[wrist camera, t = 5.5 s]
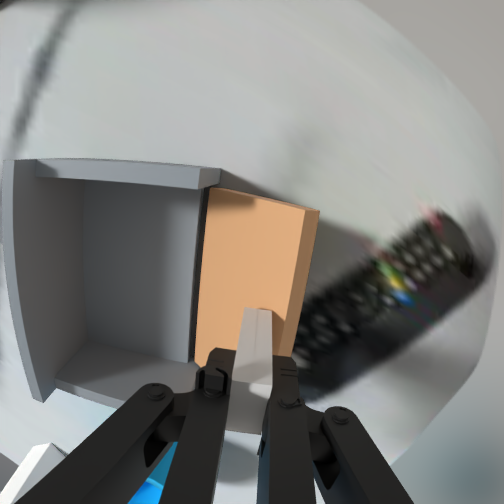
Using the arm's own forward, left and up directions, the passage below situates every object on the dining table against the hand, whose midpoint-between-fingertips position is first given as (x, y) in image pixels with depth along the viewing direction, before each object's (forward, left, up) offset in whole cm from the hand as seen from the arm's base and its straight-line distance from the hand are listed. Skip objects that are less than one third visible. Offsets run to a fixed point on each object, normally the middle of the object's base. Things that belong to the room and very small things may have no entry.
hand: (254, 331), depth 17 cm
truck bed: (0, -10, -6) cm, 12 cm away
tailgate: (0, -4, -6) cm, 7 cm away
